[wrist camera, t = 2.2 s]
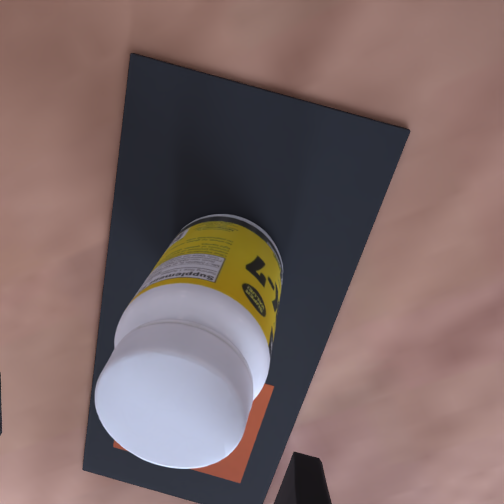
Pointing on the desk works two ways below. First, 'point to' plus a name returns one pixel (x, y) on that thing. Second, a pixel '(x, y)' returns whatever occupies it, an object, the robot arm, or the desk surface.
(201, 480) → the place mat
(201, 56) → the desk surface
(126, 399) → the supplement bottle
